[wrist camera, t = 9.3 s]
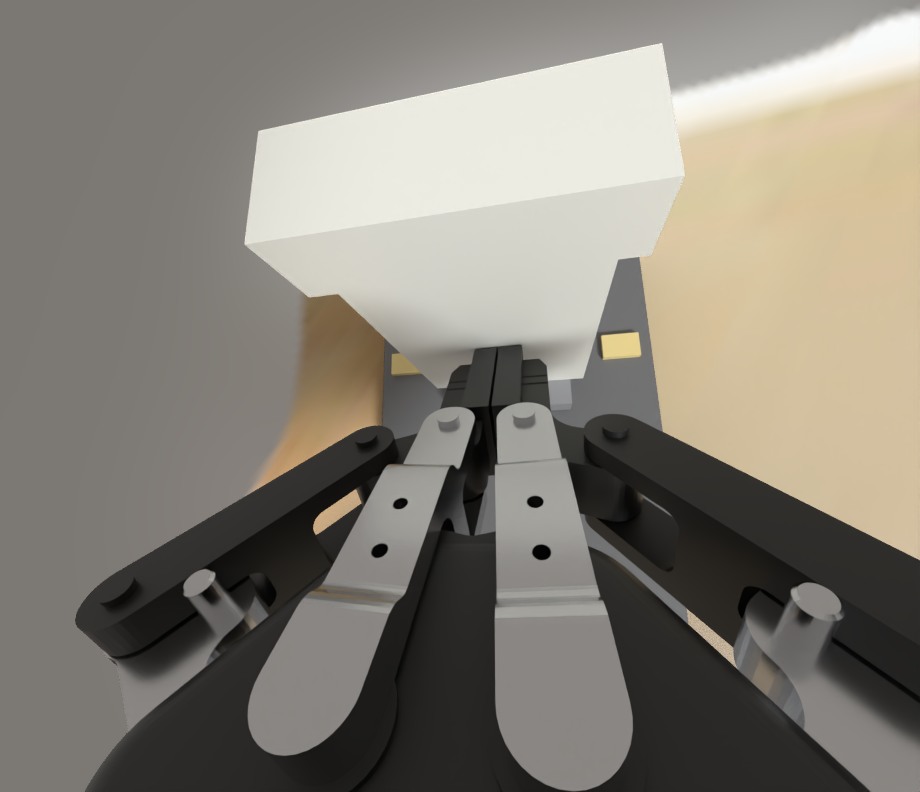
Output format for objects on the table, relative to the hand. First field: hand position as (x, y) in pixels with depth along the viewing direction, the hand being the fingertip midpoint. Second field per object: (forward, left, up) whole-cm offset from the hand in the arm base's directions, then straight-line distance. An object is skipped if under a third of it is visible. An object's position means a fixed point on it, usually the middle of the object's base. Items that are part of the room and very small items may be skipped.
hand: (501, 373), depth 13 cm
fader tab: (0, -2, -5) cm, 5 cm away
